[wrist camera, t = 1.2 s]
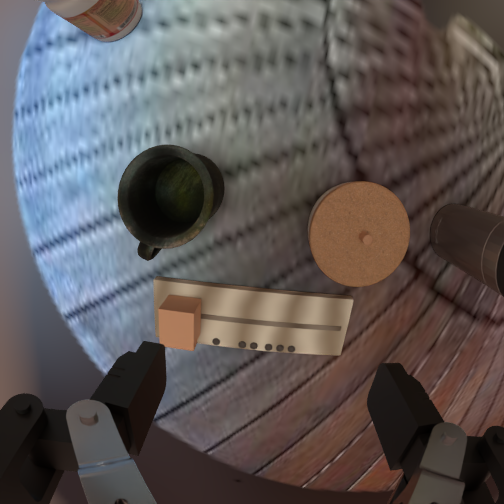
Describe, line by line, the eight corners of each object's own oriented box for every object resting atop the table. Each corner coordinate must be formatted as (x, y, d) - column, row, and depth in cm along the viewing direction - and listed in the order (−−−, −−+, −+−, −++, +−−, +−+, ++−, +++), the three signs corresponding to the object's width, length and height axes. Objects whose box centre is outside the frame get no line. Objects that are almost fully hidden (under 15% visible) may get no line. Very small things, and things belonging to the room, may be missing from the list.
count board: (351, 295, 46) (354, 300, 44) (338, 350, 49) (340, 356, 47) (156, 276, 47) (153, 280, 45) (158, 332, 49) (155, 337, 48)
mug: (242, 171, 42) (232, 172, 31) (195, 260, 46) (172, 291, 34) (174, 137, 41) (142, 128, 30) (133, 226, 45) (94, 246, 33)
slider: (201, 298, 45) (193, 313, 40) (200, 333, 47) (193, 350, 42) (168, 294, 45) (158, 308, 41) (169, 329, 47) (160, 345, 42)
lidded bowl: (342, 281, 46) (362, 313, 35) (282, 223, 44) (287, 241, 33) (400, 222, 43) (435, 239, 32) (344, 160, 41) (369, 157, 30)
